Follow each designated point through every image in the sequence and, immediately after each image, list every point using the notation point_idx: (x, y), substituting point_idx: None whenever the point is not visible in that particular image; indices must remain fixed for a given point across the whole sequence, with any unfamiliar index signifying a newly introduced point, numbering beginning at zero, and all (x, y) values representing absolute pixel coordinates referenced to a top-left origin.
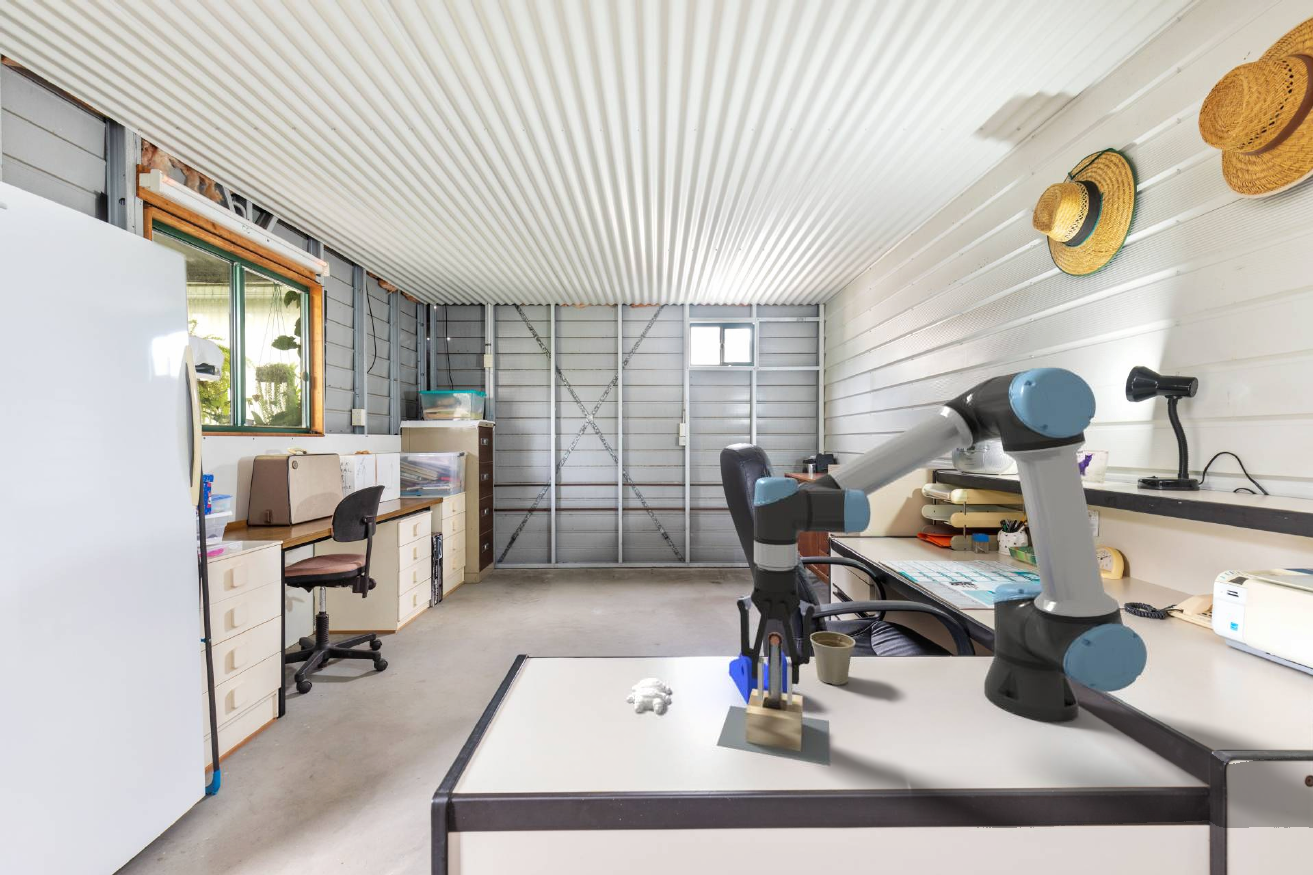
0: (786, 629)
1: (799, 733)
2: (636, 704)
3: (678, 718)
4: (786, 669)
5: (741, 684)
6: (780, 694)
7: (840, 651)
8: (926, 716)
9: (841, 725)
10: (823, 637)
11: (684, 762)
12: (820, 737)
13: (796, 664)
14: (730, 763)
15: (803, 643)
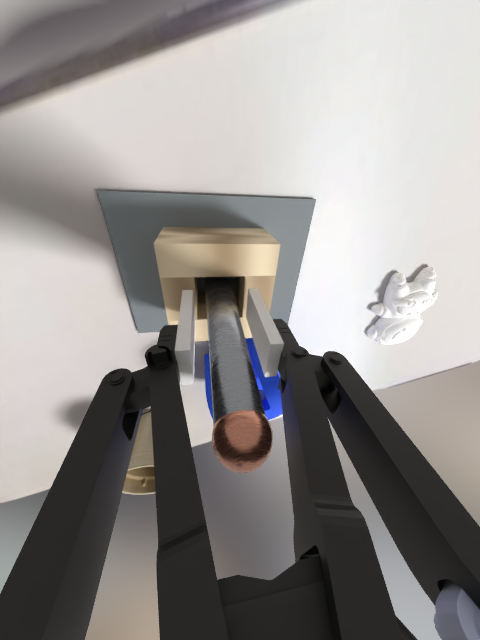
0: (189, 510)
1: (161, 235)
2: (435, 274)
3: (367, 270)
4: (210, 398)
5: None
6: (209, 306)
7: (131, 462)
8: (4, 388)
9: (117, 329)
10: None
11: (381, 116)
12: (139, 283)
13: (153, 355)
14: (291, 141)
15: (104, 446)
